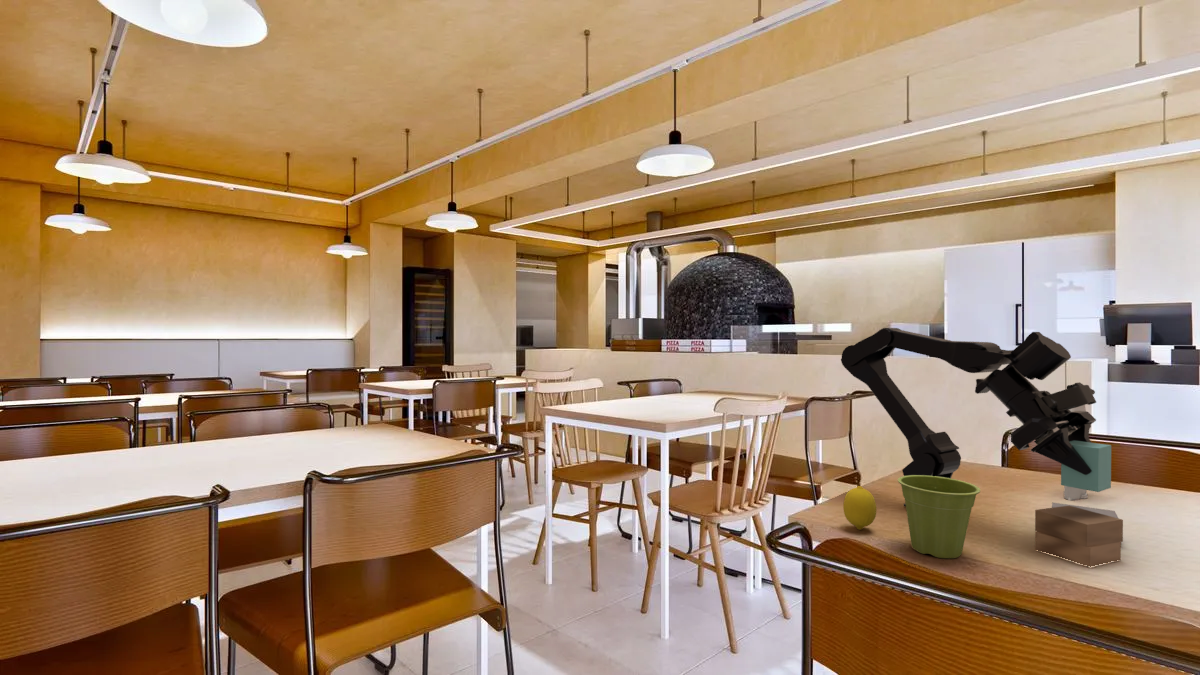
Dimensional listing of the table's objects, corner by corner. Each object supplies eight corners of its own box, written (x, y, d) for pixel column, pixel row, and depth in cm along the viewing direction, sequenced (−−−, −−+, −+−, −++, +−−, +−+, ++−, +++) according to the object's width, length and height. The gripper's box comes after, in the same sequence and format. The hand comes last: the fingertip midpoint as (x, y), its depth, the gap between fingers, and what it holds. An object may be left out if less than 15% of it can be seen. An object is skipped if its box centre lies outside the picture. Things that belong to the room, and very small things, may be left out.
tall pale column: (1071, 490, 136) (1072, 394, 136) (1094, 494, 133) (1095, 396, 133) (1056, 498, 130) (1057, 397, 130) (1079, 502, 126) (1080, 399, 126)
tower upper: (1035, 530, 99) (1035, 509, 99) (1069, 526, 102) (1069, 505, 102) (1087, 547, 92) (1087, 524, 91) (1122, 541, 94) (1122, 519, 94)
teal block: (1060, 485, 99) (1061, 443, 99) (1074, 481, 101) (1074, 440, 101) (1098, 492, 95) (1098, 448, 95) (1110, 487, 97) (1111, 445, 97)
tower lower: (1034, 552, 99) (1035, 531, 99) (1064, 546, 102) (1064, 525, 102) (1090, 570, 91) (1090, 548, 91) (1120, 562, 94) (1120, 540, 94)
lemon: (874, 526, 110) (874, 483, 110) (877, 536, 105) (878, 491, 105) (842, 523, 112) (842, 481, 112) (844, 532, 107) (844, 488, 107)
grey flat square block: (1053, 536, 105) (1054, 514, 105) (1051, 523, 113) (1052, 502, 112) (1121, 547, 100) (1121, 523, 100) (1114, 532, 107) (1114, 510, 107)
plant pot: (946, 570, 90) (946, 496, 90) (881, 544, 101) (881, 478, 101) (996, 558, 95) (997, 488, 95) (929, 535, 106) (930, 472, 106)
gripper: (1032, 368, 96) (1117, 448, 87) (1082, 365, 106) (1163, 436, 97) (980, 411, 103) (1054, 489, 94) (1031, 404, 113) (1102, 474, 104)
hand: (1096, 471), depth 97 cm, fingers closed on teal block, 5 cm apart
